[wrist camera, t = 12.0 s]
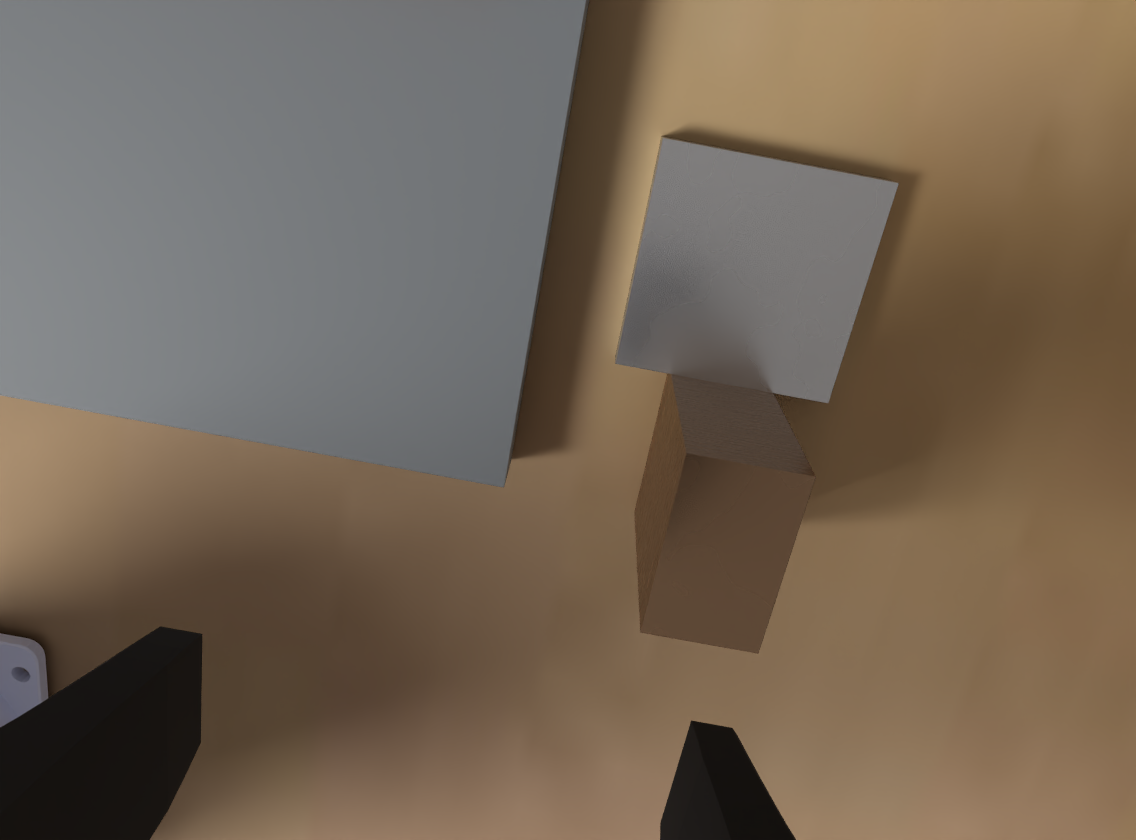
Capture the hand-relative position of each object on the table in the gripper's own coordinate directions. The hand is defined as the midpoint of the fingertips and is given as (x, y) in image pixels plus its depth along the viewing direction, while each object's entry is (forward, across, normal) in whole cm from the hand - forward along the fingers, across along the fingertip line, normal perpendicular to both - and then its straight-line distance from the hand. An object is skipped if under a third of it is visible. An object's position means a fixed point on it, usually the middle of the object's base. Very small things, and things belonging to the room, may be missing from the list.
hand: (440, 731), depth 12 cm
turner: (+9, -4, -3) cm, 11 cm away
